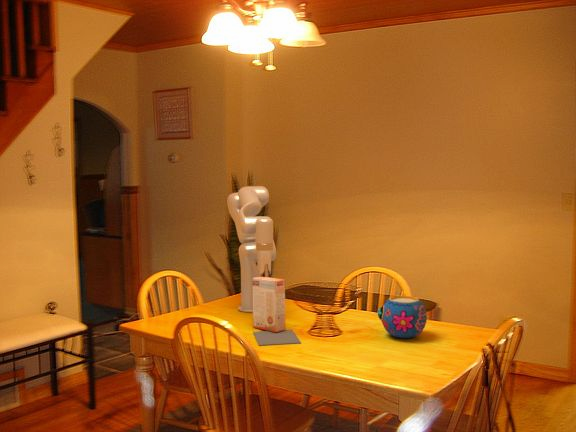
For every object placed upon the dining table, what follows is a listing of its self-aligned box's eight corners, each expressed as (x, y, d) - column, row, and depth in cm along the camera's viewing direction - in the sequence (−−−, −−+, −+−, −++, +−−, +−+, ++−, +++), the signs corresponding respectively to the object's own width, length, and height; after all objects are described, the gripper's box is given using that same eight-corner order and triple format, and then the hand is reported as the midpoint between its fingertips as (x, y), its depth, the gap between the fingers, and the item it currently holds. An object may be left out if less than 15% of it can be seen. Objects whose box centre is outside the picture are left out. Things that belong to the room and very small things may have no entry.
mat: (253, 332, 235) (253, 331, 235) (292, 330, 237) (292, 329, 237) (258, 345, 217) (258, 344, 217) (301, 343, 220) (301, 342, 220)
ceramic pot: (392, 328, 240) (392, 292, 239) (433, 335, 230) (434, 297, 229) (372, 338, 226) (372, 300, 225) (415, 346, 216) (416, 306, 215)
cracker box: (286, 330, 236) (285, 279, 235) (275, 333, 232) (274, 280, 231) (263, 325, 246) (262, 275, 245) (252, 327, 242) (251, 277, 241)
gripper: (253, 245, 255) (253, 286, 256) (257, 249, 240) (258, 293, 241) (270, 244, 256) (270, 286, 257) (276, 249, 241) (276, 293, 243)
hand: (264, 289), depth 249 cm, fingers closed
